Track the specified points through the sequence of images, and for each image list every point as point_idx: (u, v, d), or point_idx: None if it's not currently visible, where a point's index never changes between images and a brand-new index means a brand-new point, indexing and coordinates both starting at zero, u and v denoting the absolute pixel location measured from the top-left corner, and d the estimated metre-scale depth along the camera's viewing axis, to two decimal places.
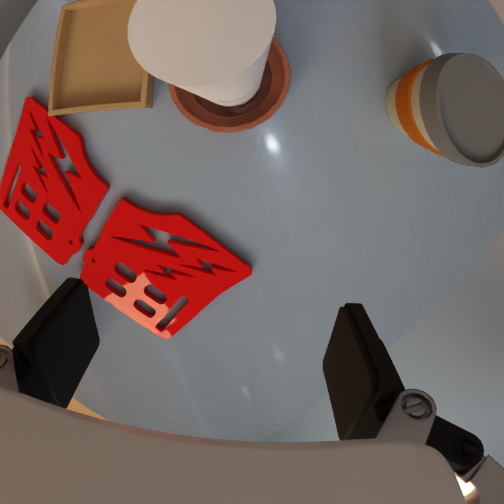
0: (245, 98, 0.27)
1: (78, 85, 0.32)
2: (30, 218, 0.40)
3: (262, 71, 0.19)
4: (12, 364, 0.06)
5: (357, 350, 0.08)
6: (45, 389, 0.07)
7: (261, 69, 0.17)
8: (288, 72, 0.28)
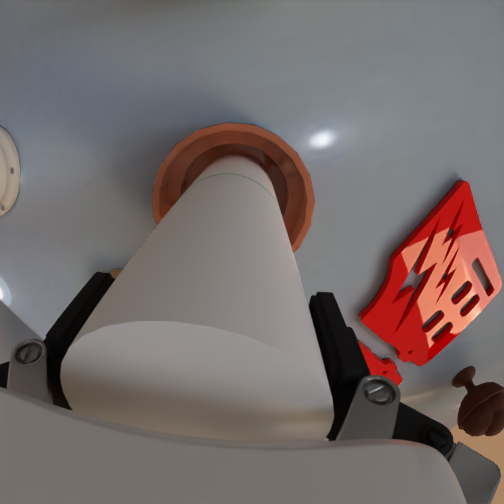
0: (272, 191, 0.21)
1: None
2: None
3: (250, 203, 0.13)
4: (46, 357, 0.06)
5: (323, 336, 0.09)
6: None
7: (257, 225, 0.11)
8: (227, 126, 0.22)
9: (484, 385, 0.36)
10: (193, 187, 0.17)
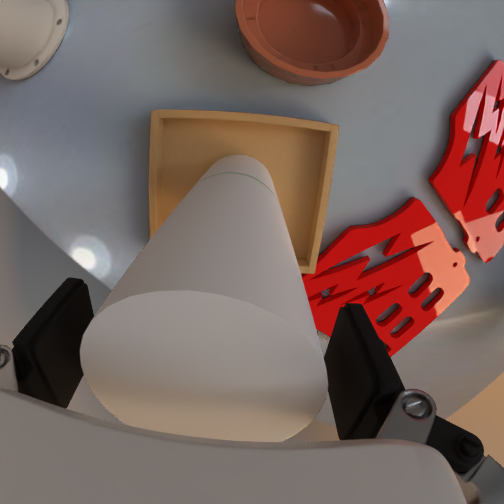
0: (273, 189, 0.22)
1: None
2: (414, 316, 0.37)
3: (252, 198, 0.14)
4: (12, 364, 0.06)
5: (357, 350, 0.08)
6: (45, 389, 0.07)
7: (259, 217, 0.12)
8: None
9: None
10: (199, 185, 0.18)
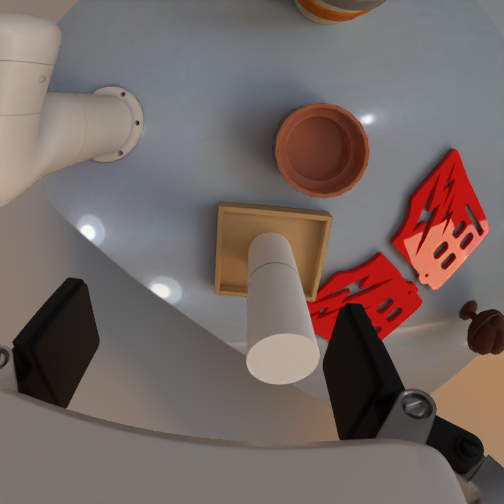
0: (295, 265, 0.42)
1: None
2: (381, 325, 0.57)
3: (291, 286, 0.35)
4: (12, 364, 0.06)
5: (357, 350, 0.08)
6: (45, 389, 0.07)
7: (296, 299, 0.32)
8: (323, 104, 0.36)
9: None
10: (262, 272, 0.38)
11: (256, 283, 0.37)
